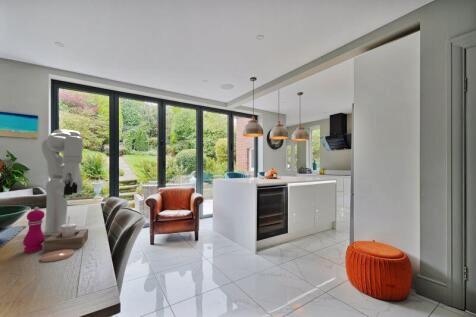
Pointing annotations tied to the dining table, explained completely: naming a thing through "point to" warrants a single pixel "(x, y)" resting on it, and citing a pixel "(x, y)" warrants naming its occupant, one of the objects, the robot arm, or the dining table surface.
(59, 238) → the bottle holder
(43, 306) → the dining table surface
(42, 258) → the tan round disc
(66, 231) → the smoothie
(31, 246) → the pepper mill
